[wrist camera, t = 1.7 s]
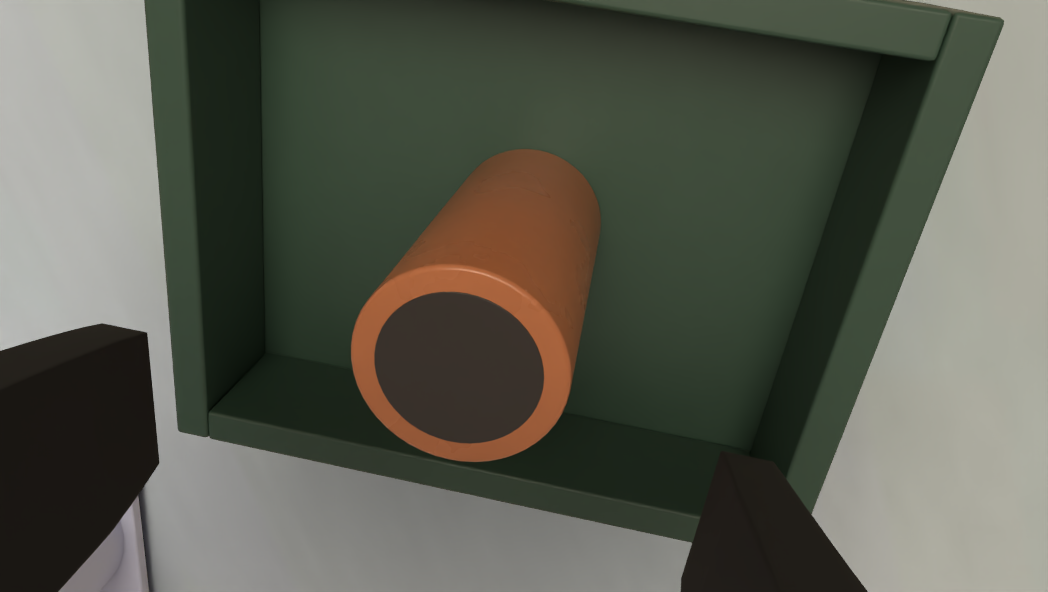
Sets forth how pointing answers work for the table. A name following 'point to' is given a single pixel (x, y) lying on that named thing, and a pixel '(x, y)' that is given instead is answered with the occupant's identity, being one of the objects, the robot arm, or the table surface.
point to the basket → (624, 201)
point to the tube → (484, 312)
